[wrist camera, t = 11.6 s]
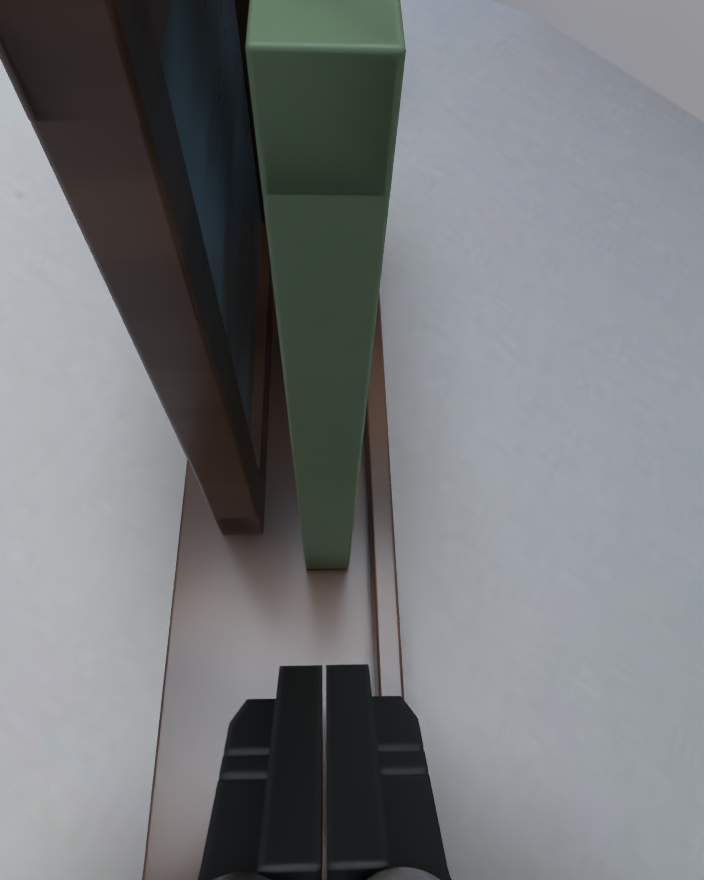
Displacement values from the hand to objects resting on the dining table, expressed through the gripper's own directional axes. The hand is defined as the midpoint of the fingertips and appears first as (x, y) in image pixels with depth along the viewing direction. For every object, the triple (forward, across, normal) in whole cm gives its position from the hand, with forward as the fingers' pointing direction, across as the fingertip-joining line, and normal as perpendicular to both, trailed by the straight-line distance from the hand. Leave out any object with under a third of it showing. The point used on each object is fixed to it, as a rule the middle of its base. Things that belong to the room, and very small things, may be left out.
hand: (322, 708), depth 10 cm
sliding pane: (+11, 0, -3) cm, 11 cm away
